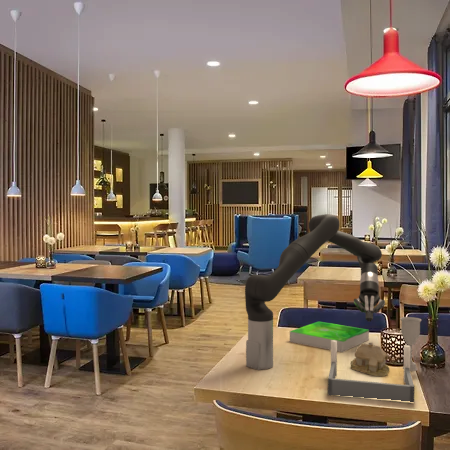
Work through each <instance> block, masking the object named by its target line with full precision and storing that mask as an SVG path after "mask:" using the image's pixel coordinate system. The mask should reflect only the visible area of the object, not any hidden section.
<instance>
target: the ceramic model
mask: <svg viewBox="0 0 450 450" xmlns="http://www.w3.org/2000/svg"><path fill="white" fill-rule="evenodd" d="M354 357H355V358H353V359H352V360H350V369H352V370H353V371H356V372H362V373H364V374H367V375H369V376H374V377H375V376H376V377H386V376H387V377H388V375H389V372H390V367H389V366H388V365H387V364H386V363H387V362H386V361H387V360H388V359H389V356H388V353H387V352H385V351H384V350H383V349H382V347H381V346H379V345H374V343H373V342H368V343H361V344H360V345H358V346H357V348H356V349H355V353H354Z"/></svg>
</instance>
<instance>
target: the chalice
mask: <svg viewBox="0 0 450 450" xmlns="http://www.w3.org/2000/svg"><path fill="white" fill-rule="evenodd" d="M399 320H400V321H401V329H400V330H401V335H402V337H403V339H404V341H405V343H406V344H407V345H408V346H410V372H416V371H418V370H419V369H418V366H417V365H416V364H417V363H415V362H414V361H413V357H414V354H413V351H414V349H413V346H414V345H415V344H416V343H417V341H418V339H419V337H420V335H421V322H422V319H421V318H419V317H413V316H412V317H411V316H402V317H400V318H399ZM406 344H405V345H406ZM402 369H403V370H404V366H402Z"/></svg>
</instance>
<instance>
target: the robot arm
mask: <svg viewBox="0 0 450 450" xmlns="http://www.w3.org/2000/svg"><path fill="white" fill-rule="evenodd" d="M339 219H340V218H338V216H336V215H335V214H331V213H327V214H318V215H314V216H312V217H311V218H310V219H309V222H308V230H309V232H308V233H306V234H304V235H302V236H299V237H298V238H297V239H295V240H293V241H292V242H291V243H289V244H288V246H286V248H284V250H283V251H282V252H281V253H280V256H279V260H278V261H279V263H278V265H277V268H275V269H274V271H273V272H271V273H270V274H269V275H262V274H252V275H250V276H249V277H248V278H247V279H246V282H245V287H244V299H245V300H244V301H245V312H246V314H247V340H246V342H245V358H246V359H245V366H246V367H248V368H251V369H254V370H258V371H260V370H267V369H271V368H273V366H274V313H273V311H272V310H271V309H270V307H268V306H267V304H266V302H271V301H273V300H275V298H276V297H277V296H278V295H279V294H280V292H281V290H283V288H284V287H285V285H286V284H287V283H288V282H289V281H290V280H291V278H292V277H293V276H294V275H295V274H296V273H297V272H298V271H299V270H300V269H301V268H302V267H303V266H304V265H305V263H307V262H308V261H309V259H310V258H311V257H312V256H313V255H314V254H316V252H317V251H318V250H319V249H320V248H321V247H322V246H323V245H324V244H325V243H327V242H329V243H331V244H333V245H336V246H337V247H340V248H342V249H343V250H345V251H346V252H348V253H350V254H351V255H353V256H355V257H356V258H357V262H358V264H359V268H360V278H359V279H360V280H359V281H360V282H359V295H358V298H354V299H353V304H354V305H355V307H356V308H357V309H358V310H359V311H360V312H361V313H365V321H367V322H372V321H373V320H374V314H378V313H379V312H380V310H381V309H383V308H384V307H385V305H386V300H385V299H381V296H380V293H379V292H380V289H379V285H380V284H379V283H380V282H379V276H378V275H379V268H378V266H377V264H376V263H375V262H378V261H379V260H380V259H382V256H383V252H382V250H381V249H380V247H379V246H377V245H376V244H374V243H371V242H367V241H363V240H361V239H359V238H358V237H356V236H354V235H353V234H350V233H347V232H343V231H340V230H339V229H340V220H339Z"/></svg>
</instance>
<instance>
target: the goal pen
mask: <svg viewBox="0 0 450 450" xmlns="http://www.w3.org/2000/svg"><path fill="white" fill-rule="evenodd" d="M403 367H404V369H403V383H405V384H401V383H400V384H399V383H390V382H389V383H387V382H379V381H378V382H377V381H368V380H367V381H366V380H355V379H343V378H336V377H337V375H338V373H337V372H338V369H337V368H338V351H337V341H336V340H331V350H330V369H329V373H328V377H327V378H328V379H327V396H331V395H340V396H339V397H341V396H353V397H364V398H377V399H391V400H401V401H410V402H414V403H415V386H414V385H415V384H414V380H413V377H412V374H411V371H410V346H409V345H408V344H407V345H406V344H405V345H404V346H403Z"/></svg>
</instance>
